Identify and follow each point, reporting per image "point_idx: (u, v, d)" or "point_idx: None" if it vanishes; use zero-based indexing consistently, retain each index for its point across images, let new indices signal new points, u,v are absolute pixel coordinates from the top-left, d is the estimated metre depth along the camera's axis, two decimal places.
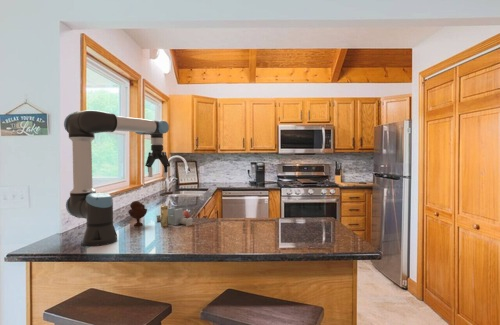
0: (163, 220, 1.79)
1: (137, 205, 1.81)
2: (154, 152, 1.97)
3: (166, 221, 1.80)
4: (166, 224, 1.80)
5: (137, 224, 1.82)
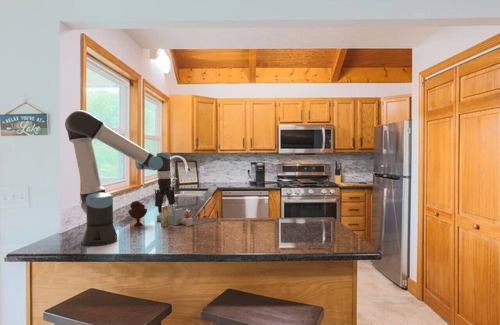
0: (163, 220, 1.79)
1: (137, 205, 1.81)
2: None
3: (166, 221, 1.80)
4: (166, 224, 1.80)
5: (137, 224, 1.82)
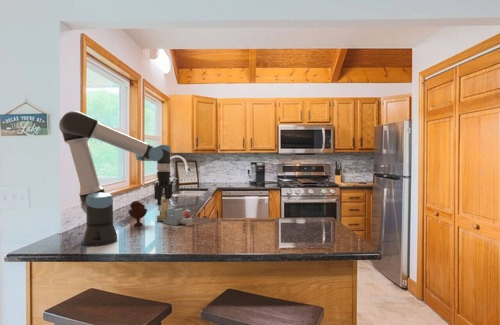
0: (162, 212, 1.79)
1: (137, 205, 1.81)
2: None
3: (165, 214, 1.80)
4: (165, 217, 1.80)
5: (137, 224, 1.82)
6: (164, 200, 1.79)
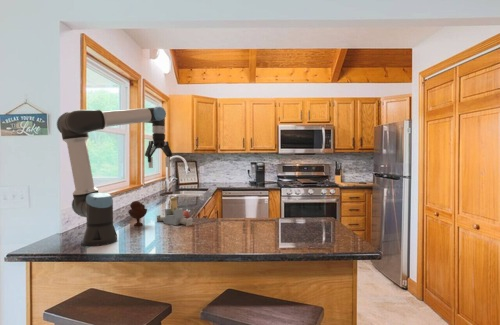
0: None
1: (137, 205, 1.81)
2: None
3: None
4: None
5: (137, 224, 1.82)
6: (174, 199, 1.88)
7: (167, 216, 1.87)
